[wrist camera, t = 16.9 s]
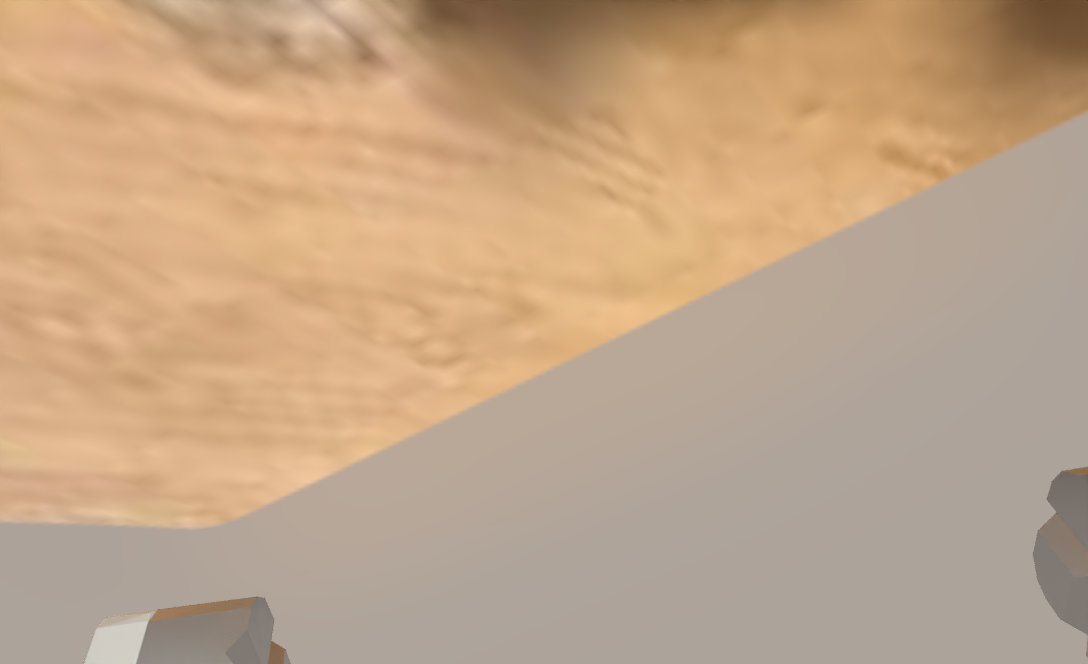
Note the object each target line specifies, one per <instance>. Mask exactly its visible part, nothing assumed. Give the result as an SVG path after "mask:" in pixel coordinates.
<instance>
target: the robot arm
mask: <svg viewBox="0 0 1088 664" xmlns="http://www.w3.org/2000/svg"><path fill="white" fill-rule="evenodd" d="M1047 500H1048V502H1049V503H1050V504H1051V506H1052V507H1053V508H1054V510H1055V511H1056V512H1057V513H1056V514H1055V515H1054V516H1053V517H1051V519H1049V520H1048V521H1047V523H1045V524H1044V525H1043V526H1042V527H1041V528H1040V529H1039V530H1038V533H1037V538H1036V542H1035V547H1034V552H1033V557H1034V562H1035V569H1036V574H1037V579H1038V582H1039V584H1040V586H1041V589H1042V591H1043V593H1044V595H1045V597H1046V599H1047V601H1048V602H1049V604H1050V605H1051V606H1052V608H1053V609H1054V611H1055V612H1056V614H1057V615H1058V617H1059V618H1060V619H1061V620H1063V621H1065V622H1066V623H1068V624H1070V625H1072V626H1073V627H1075V628H1077V629H1079V630H1080V631H1082V632H1084V633H1086V634H1087V635H1088V467H1083V468H1077V469H1071V470H1065V471H1062V472H1061V473H1060V474H1059V475H1058V476H1057V477H1056V478H1055V479H1054V480H1053V481H1052V483H1051V487H1050V490H1049V494H1048V497H1047ZM273 625H274V618H273V616H272V614H271V611H270V609H269V607H268V605H267V602H266V600H265V598H262V597H251V598H243V599H236V600H228V601H220V602H213V603H205V604H197V605H189V606H182V607H174V608H166V609H158V610H157V611H150V612H142V613H134V614H127V615H120V616H111V617H106V618H105V619H104V621H103V622H102V623H101V624H100V625H99V626H98V628H97V629H96V630H95V632H94V634H93V636H92V639H91V642H90V645H89V647H88V650H87V653H86V656H85V659H84V661H83V664H291V663H290V661H289V658H288V655H287V652H286V649H284V648H283V647H281V646H279V645H277V644H276V643H274V642H272V641H271V638H272V631H273ZM1086 655H1087V657H1088V640H1087V653H1086Z"/></svg>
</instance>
